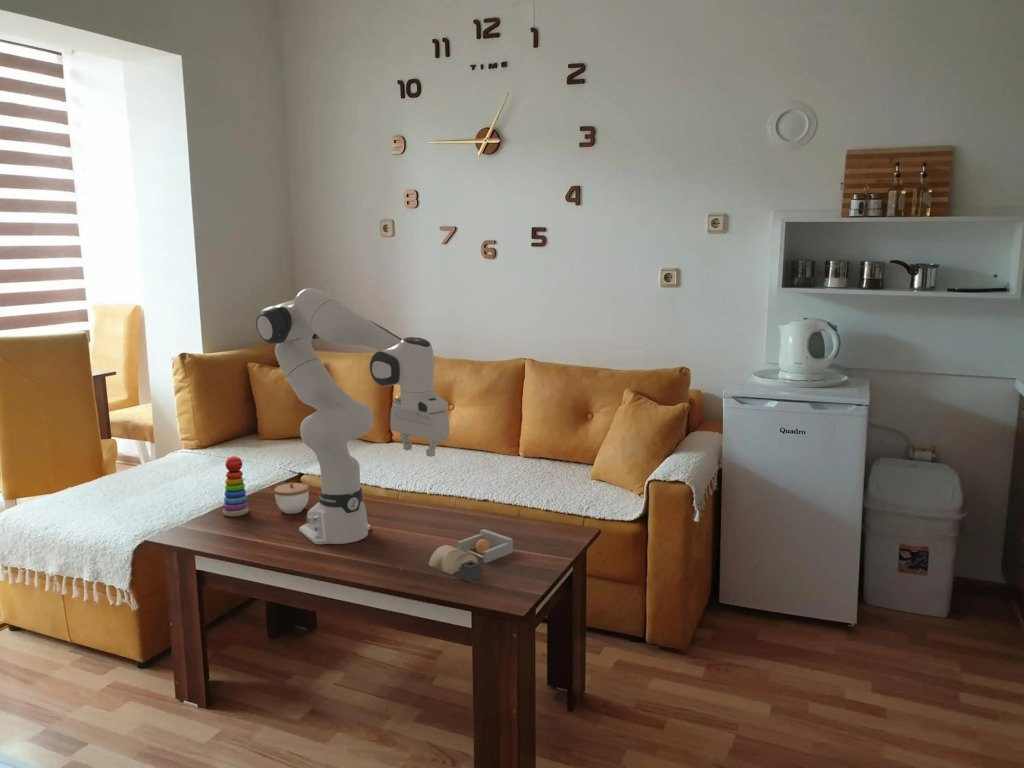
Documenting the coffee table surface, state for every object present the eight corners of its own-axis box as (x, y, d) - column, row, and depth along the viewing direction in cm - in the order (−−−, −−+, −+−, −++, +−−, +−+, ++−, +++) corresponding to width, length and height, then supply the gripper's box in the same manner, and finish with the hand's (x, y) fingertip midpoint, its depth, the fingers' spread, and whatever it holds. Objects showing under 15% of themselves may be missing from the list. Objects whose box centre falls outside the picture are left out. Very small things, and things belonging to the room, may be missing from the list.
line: (465, 551, 221) (465, 550, 221) (468, 550, 221) (468, 549, 221) (488, 559, 215) (488, 559, 215) (490, 558, 215) (490, 558, 215)
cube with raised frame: (459, 578, 203) (459, 564, 202) (471, 573, 205) (470, 559, 205) (470, 582, 200) (469, 568, 199) (481, 577, 203) (481, 563, 202)
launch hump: (428, 586, 212) (427, 550, 211) (456, 575, 219) (456, 540, 218) (451, 596, 206) (450, 559, 204) (479, 584, 213) (478, 549, 211)
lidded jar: (281, 505, 263) (279, 478, 261) (313, 505, 263) (312, 478, 261) (271, 516, 252) (269, 487, 251) (305, 516, 252) (303, 487, 250)
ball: (476, 554, 220) (470, 545, 218) (485, 543, 222) (479, 534, 220) (486, 558, 218) (481, 549, 215) (495, 547, 220) (489, 538, 217)
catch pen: (457, 552, 220) (457, 538, 220) (484, 542, 227) (483, 528, 227) (486, 563, 212) (486, 548, 212) (512, 552, 219) (512, 538, 219)
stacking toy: (244, 517, 251) (240, 460, 248) (219, 517, 251) (215, 460, 248) (252, 509, 259) (248, 453, 256) (228, 509, 259) (224, 453, 256)
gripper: (383, 397, 209) (385, 448, 212) (433, 407, 195) (434, 462, 197) (402, 394, 214) (403, 443, 216) (452, 404, 200) (453, 457, 202)
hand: (419, 452), depth 207 cm, fingers open, 8 cm apart
